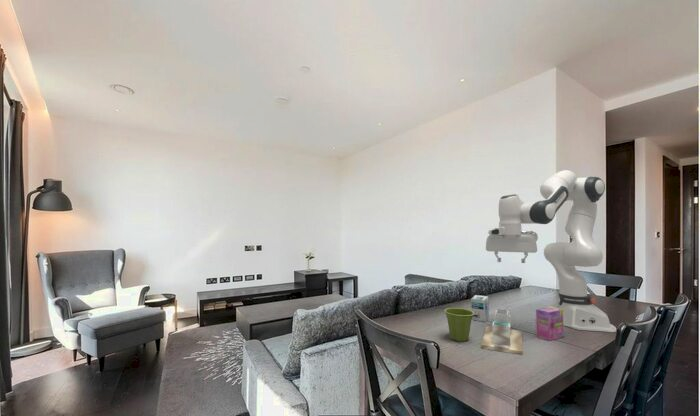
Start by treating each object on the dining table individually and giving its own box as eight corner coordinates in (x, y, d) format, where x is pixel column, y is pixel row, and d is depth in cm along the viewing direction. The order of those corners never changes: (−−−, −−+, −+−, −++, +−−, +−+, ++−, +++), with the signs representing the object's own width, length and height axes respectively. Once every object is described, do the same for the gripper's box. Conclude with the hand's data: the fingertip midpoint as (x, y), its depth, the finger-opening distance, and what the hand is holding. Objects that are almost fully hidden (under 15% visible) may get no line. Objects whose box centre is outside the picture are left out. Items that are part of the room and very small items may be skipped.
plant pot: (458, 345, 124) (458, 316, 125) (439, 336, 135) (438, 309, 135) (481, 341, 129) (480, 313, 129) (460, 332, 139) (459, 306, 140)
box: (550, 341, 129) (549, 311, 130) (536, 337, 134) (535, 308, 135) (564, 337, 134) (563, 308, 134) (550, 333, 139) (549, 305, 139)
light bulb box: (485, 322, 155) (485, 299, 156) (471, 320, 159) (470, 298, 159) (489, 317, 164) (488, 296, 165) (475, 315, 168) (475, 294, 168)
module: (508, 334, 132) (508, 310, 132) (508, 340, 126) (507, 314, 126) (497, 333, 134) (496, 308, 134) (496, 338, 128) (495, 312, 128)
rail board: (521, 333, 138) (520, 313, 138) (522, 354, 115) (521, 329, 115) (486, 328, 144) (486, 309, 145) (481, 348, 121) (480, 324, 122)
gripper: (536, 231, 137) (538, 262, 137) (486, 230, 147) (486, 260, 146) (537, 231, 132) (539, 264, 131) (484, 230, 141) (485, 261, 140)
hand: (511, 262), depth 139 cm, fingers open, 8 cm apart
